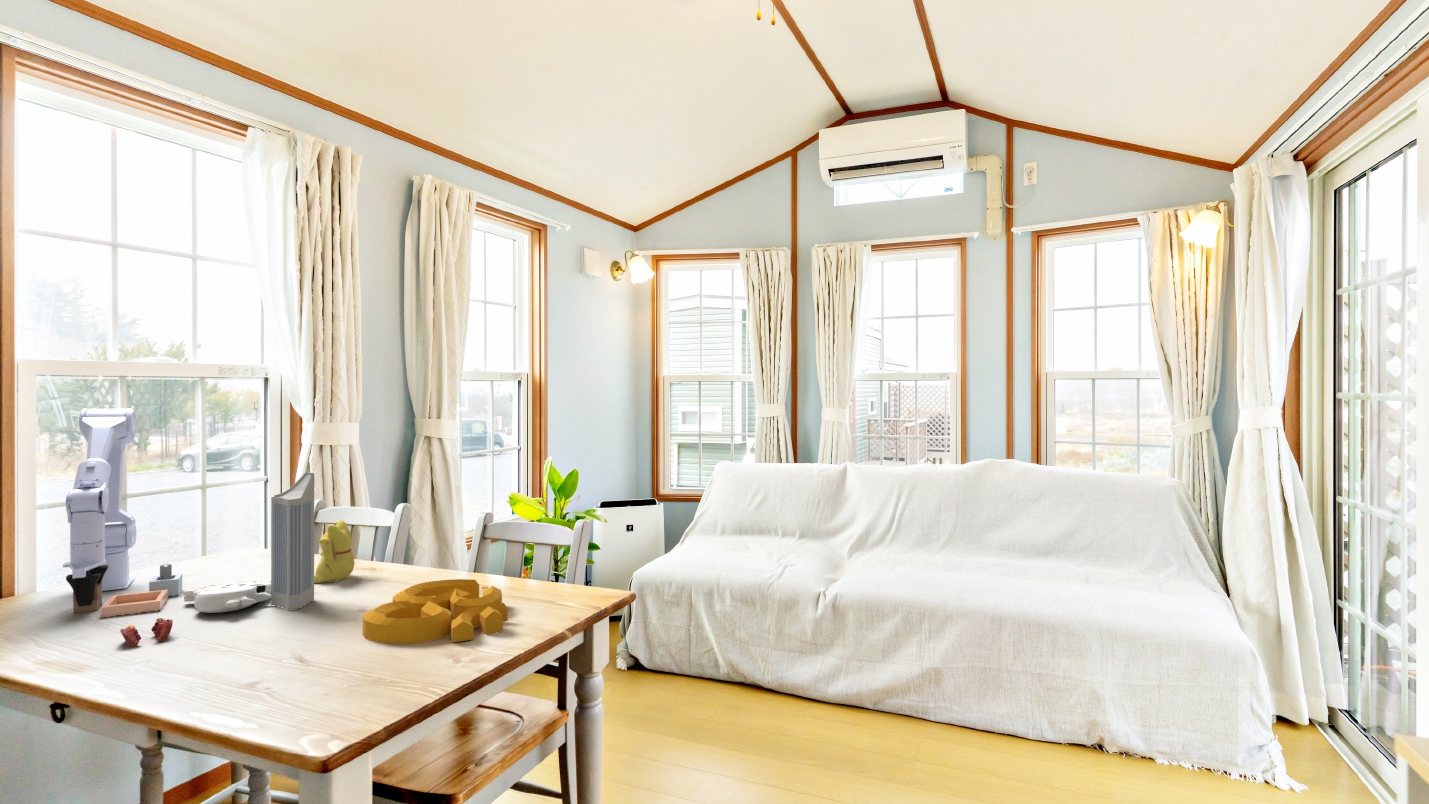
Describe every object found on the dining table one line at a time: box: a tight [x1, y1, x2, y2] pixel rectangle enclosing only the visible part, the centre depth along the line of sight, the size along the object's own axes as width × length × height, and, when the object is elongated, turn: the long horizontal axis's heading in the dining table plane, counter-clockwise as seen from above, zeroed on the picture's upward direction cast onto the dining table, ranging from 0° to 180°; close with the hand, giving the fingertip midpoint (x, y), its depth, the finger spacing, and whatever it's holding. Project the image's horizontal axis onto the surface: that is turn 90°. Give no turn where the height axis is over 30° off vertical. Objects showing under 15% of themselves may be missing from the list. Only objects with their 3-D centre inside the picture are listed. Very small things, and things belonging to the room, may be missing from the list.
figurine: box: [314, 519, 355, 584], centre depth 179 cm, size 11×9×15 cm
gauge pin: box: [159, 563, 173, 580], centre depth 165 cm, size 2×2×7 cm
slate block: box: [148, 573, 183, 597], centre depth 166 cm, size 6×6×4 cm
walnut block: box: [72, 583, 103, 614], centre depth 154 cm, size 4×4×5 cm
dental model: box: [119, 617, 174, 649], centre depth 136 cm, size 6×4×8 cm
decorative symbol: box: [362, 578, 509, 645], centre depth 150 cm, size 30×5×30 cm
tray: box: [100, 590, 169, 619], centre depth 155 cm, size 10×10×2 cm
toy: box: [182, 580, 271, 614], centre depth 159 cm, size 22×5×20 cm
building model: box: [270, 471, 315, 611], centre depth 159 cm, size 8×8×30 cm
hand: (87, 602), depth 154 cm, fingers closed on walnut block, 4 cm apart
